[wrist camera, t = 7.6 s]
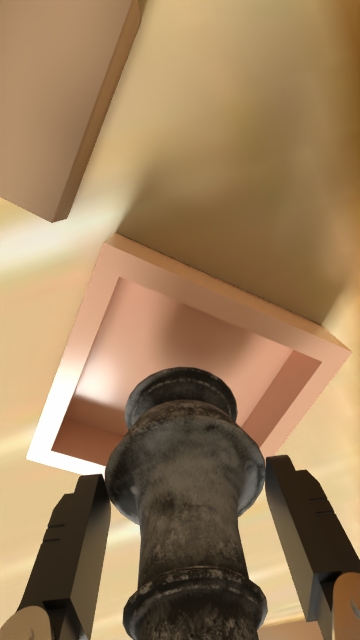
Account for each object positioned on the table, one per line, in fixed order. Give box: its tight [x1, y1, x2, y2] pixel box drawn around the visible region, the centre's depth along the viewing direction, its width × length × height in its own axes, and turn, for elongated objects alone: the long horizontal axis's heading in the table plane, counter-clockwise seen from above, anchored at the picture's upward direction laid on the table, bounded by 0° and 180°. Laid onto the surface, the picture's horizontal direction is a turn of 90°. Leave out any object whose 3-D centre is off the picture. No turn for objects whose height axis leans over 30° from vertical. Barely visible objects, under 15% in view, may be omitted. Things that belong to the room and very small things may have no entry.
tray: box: [26, 233, 352, 480], centre depth 16 cm, size 12×12×3 cm
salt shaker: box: [105, 367, 268, 640], centre depth 9 cm, size 6×6×12 cm
